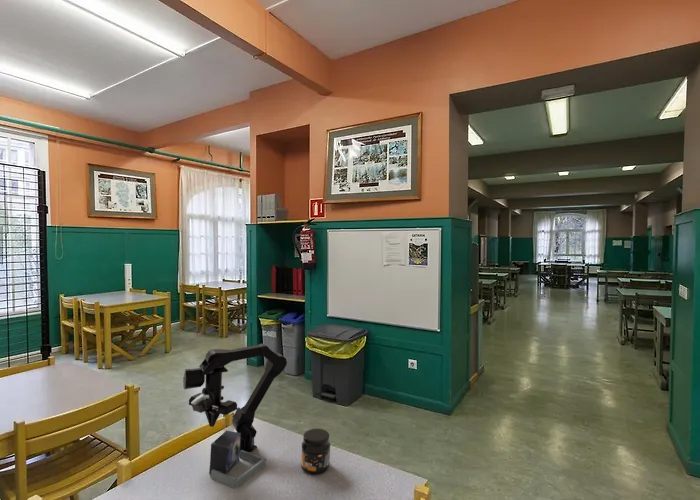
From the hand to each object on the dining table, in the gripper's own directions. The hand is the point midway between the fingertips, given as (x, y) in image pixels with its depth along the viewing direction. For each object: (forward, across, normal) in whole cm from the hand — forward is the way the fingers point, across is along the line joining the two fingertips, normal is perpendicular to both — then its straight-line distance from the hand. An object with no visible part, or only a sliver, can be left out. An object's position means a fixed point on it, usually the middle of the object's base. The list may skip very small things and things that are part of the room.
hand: (211, 426), depth 134 cm
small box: (+12, +8, -2) cm, 15 cm away
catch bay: (+12, +15, -1) cm, 19 cm away
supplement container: (+12, +37, +13) cm, 41 cm away
